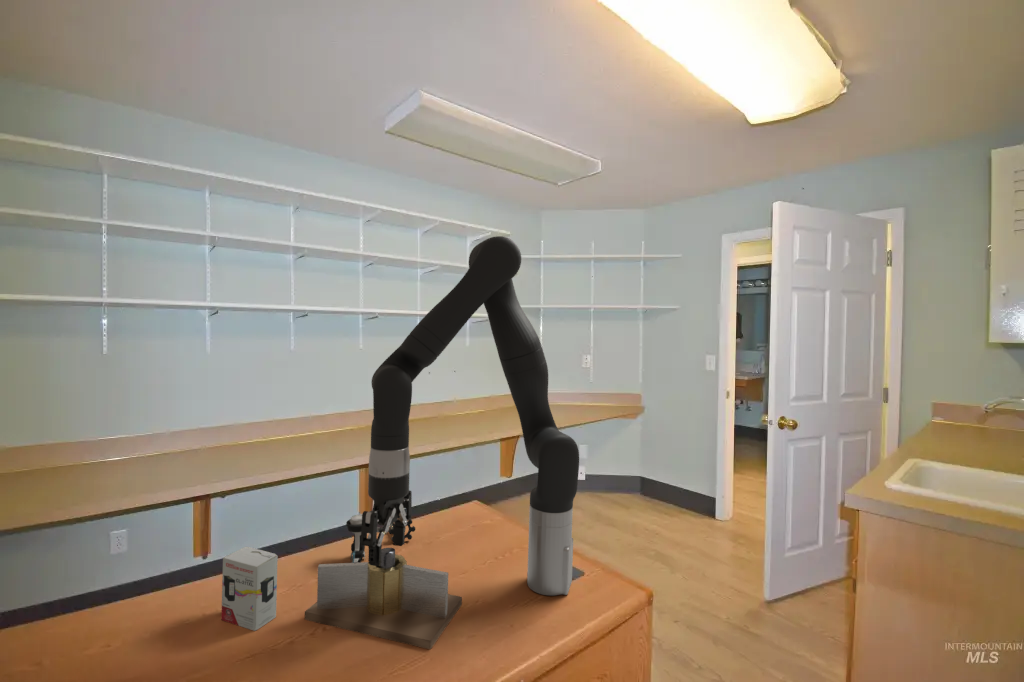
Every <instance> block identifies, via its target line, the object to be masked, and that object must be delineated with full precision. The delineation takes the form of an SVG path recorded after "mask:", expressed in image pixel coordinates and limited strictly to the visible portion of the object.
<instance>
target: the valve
mask: <svg viewBox="0 0 1024 682" xmlns="http://www.w3.org/2000/svg"><path fill="white" fill-rule="evenodd" d="M403 509H404V510H405V508H403ZM412 524H413V519H412V518H411V519H410V520H409V519H408V520H407V525H406V526H405V531H406V529H407V528H408V530H407V532H406V533H405V539H407V540H409V541H410V540H412V538H413V536H412V534H411V533H412V532H415V531H416V527H415V526H414V525H412ZM411 525H412V526H411ZM392 526H395V524H394V523H392V524H391V525H390V528H389V530H388V532H387V533H388V534H389V535H393V527H392ZM406 527H407V528H406ZM391 541H392V542H393V536H391Z"/></svg>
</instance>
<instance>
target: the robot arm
mask: <svg viewBox="0 0 1024 682" xmlns="http://www.w3.org/2000/svg"><path fill="white" fill-rule="evenodd" d="M521 265H522V253H521V250H520V247H519V246H518V244H517V243H516V242H515V241H514V240H512V239H510V238H508V237H506V236H501V235H499V236H497V235H496V236H492V237H489V238H486V239H485V240H483V241H481V242H480V243H478V244H476V245H475V246H474V247H473V248H472V249H471V252H470V253H469V256H468V270H466V272H465V274H464V275H463V277H461V279H460V280H459V281H458V283H457V284H456V285H455V286H454V287H453V288H452V289H451V290H450V291H449V292H448V293H447V294H446V295H445V296H444V297H443V298H442V299H441V300H440V301H439V302H438V303H436V305H434V307H433V308H432V309H430V310H429V311H428V313H426V314H425V315H424V317H423V318H422V319H421V320H420V321H419V322H417V324H416V325H415V327H414V328H413V329H412V330H411V331H410V333H409V334H408V335H407V336H406V338H405V339H404V340H403V341H402V343H401V344H400V345H399V346H398V347H397V348H396V349H395V350H394V351H393V352H392V353H391V354H390V355H389V356H387V358H386V359H385V360H384V361H383V362H382V363H381V364H380V365H379V366H378V368H377V369H376V370H375V371H374V373H373V375H372V377H371V389H372V397H373V399H372V401H373V402H372V403H373V405H372V406H373V419H372V421H371V429H370V430H371V432H370V450H369V457H368V483H367V484H368V489H367V492H368V493H367V494H368V496H369V498H371V499H372V500H373V505H372V510H370V511H369V510H364V511H363V512H362V528H361V545H364V546H365V547H368V558H367V559H368V561H367V562H369V564H370V565H373V566H379V565H380V564H381V552H382V549H383V548H382V546H383V545H382V543H383V541H384V537H385V535H386V534H388V533H389V532H388V530H389V529H390V528H391V524H392V523H394V524H395V526H393V534H392V537H393V541H392V544H393V546H397V547H403V546H404V545H405V539H406V538H405V535H406V530H405V528H406V527H407V526H406V525H407V522H408V519H409V520H410V519H411V520H412V517H413V514H412V513H413V512H412V510H413V509H412V507H413V506H412V505H413V502H412V500H413V497H412V490H410V470H411V469H410V468H411V467H410V464H411V459H410V457H411V456H410V447H409V446H410V424H409V423H410V422H409V419H410V414H411V406H412V398H413V396H412V395H413V382H414V381H415V379H416V378H417V377H418V376H419V375H420V374H421V372H423V370H424V369H426V368H428V367H429V366H430V365H432V364H433V363H435V361H436V360H437V359H438V357H439V356H441V354H442V353H443V352H444V351H445V349H446V348H447V347H448V346H449V344H450V343H451V342H452V341H453V339H454V338H455V337H456V336H457V335H458V333H459V332H460V331H461V330H462V328H463V327H464V326H465V325H466V324H467V322H468V321H469V320H470V319H471V318H472V316H473V315H474V314H475V313H476V312H477V311H478V309H479V308H481V306H482V305H484V309H485V311H486V314H487V318H488V321H489V325H490V329H491V334H492V336H493V341H494V343H495V347H496V350H497V354H498V358H499V361H500V365H501V367H502V371H503V375H504V377H505V379H506V382H507V385H508V388H509V392H510V394H511V397H512V400H513V404H514V405H515V409H516V411H517V414H518V418H519V421H520V426H521V432H522V436H523V441H524V447H525V452H526V455H527V457H528V460H529V461H530V462H531V464H532V465H533V466H534V467H535V468H537V482H536V487H534V488H532V490H531V491H530V493H529V494H530V495H529V512H528V513H529V516H528V517H529V519H528V520H529V521H528V546H527V547H528V548H527V570H526V571H527V572H526V576H527V579H526V581H527V582H526V583H527V586H528V588H529V589H530V590H531V591H532V592H534V593H537V594H539V595H544V596H560V595H564V596H566V595H567V596H568V594H569V591H570V589H571V585H572V583H573V561H574V560H573V559H574V558H573V556H574V538H573V514H574V513H573V511H574V507H573V506H574V500H575V497H576V495H577V492H578V483H579V472H580V470H579V469H580V451H579V447H578V445H577V442H576V441H575V439H574V438H572V436H570V435H568V434H565V433H563V432H562V431H560V430H559V429H558V427H557V425H556V421H555V420H554V417H553V416H554V415H553V414H552V411H551V408H550V403H549V369H548V368H549V367H548V364H547V360H546V356H545V353H544V350H543V347H542V343H541V341H540V337H539V336H538V333H537V332H536V330H535V328H534V327H533V324H532V322H531V321H530V320H529V318H528V316H527V315H526V313H525V312H524V310H523V308H522V307H521V304H520V302H519V299H518V297H517V296H518V295H517V294H516V290H515V286H514V283H513V278H515V276H516V275H517V274H518V272H519V271H520V268H521ZM403 508H404V509H403ZM405 509H406V511H405ZM405 526H406V527H405ZM377 535H378V536H377Z"/></svg>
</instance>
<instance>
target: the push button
mask: <svg viewBox="0 0 1024 682" xmlns="http://www.w3.org/2000/svg"><path fill="white" fill-rule="evenodd" d="M362 514H363V513H362ZM362 514H354V515H352V516H351V517H350V519H348V520H347V521H346V524H345V525H346V526H347V531H348V532H350V533H352V534H353V540H352V543H351V544H350V551H351V553H350V560H352V561H351V563H361V562H362V561H363V560H365V558H366V551H365V548H366V546H364V545H361V528H362Z"/></svg>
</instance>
